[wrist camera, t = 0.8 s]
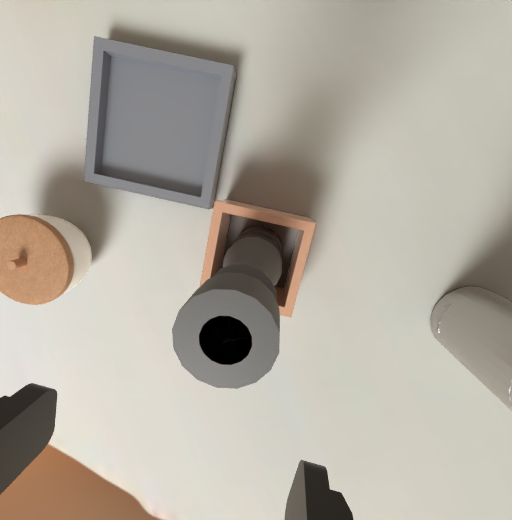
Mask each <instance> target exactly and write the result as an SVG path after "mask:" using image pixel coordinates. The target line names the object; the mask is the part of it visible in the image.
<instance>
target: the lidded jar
mask: <svg viewBox="0 0 512 520" xmlns="http://www.w3.org/2000/svg"><path fill="white" fill-rule="evenodd" d="M91 260H92V252H91V247H90V244H89V242H88V240H87V238H86V236H85V235H84V234H83V232H82V231H81V230H80V229H79V228H77V227H76V226H75V225H73V224H72V223H70V222H68V221H66V220H64V219H61V218H59V217H54V216H49V215H11V216H6V217H3V218H1V219H0V291H1V292H2V293H3V294H5V295H6V296H7V297H9V298H11V299H13V300H15V301H18V302H21V303H24V304H31V305H38V304H44V303H47V302H50V301H52V300H54V299H56V298H58V297H59V296H60V295H62V294H64V293H66V292H68V291H69V290H71V289H72V288H73V287H75V286H76V285H77V284H78V283H80V282H81V280H82V279H83V278H84V277H85V275H86V274H87V272H88V270H89V268H90V265H91Z"/></svg>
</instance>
